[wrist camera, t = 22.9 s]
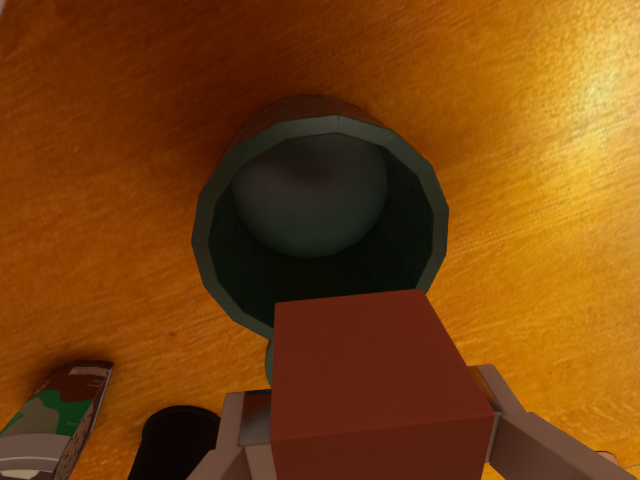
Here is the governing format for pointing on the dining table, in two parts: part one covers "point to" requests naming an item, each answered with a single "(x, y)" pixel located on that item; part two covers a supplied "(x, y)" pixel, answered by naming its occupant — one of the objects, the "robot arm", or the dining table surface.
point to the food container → (54, 423)
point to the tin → (316, 211)
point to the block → (373, 392)
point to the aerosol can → (174, 443)
